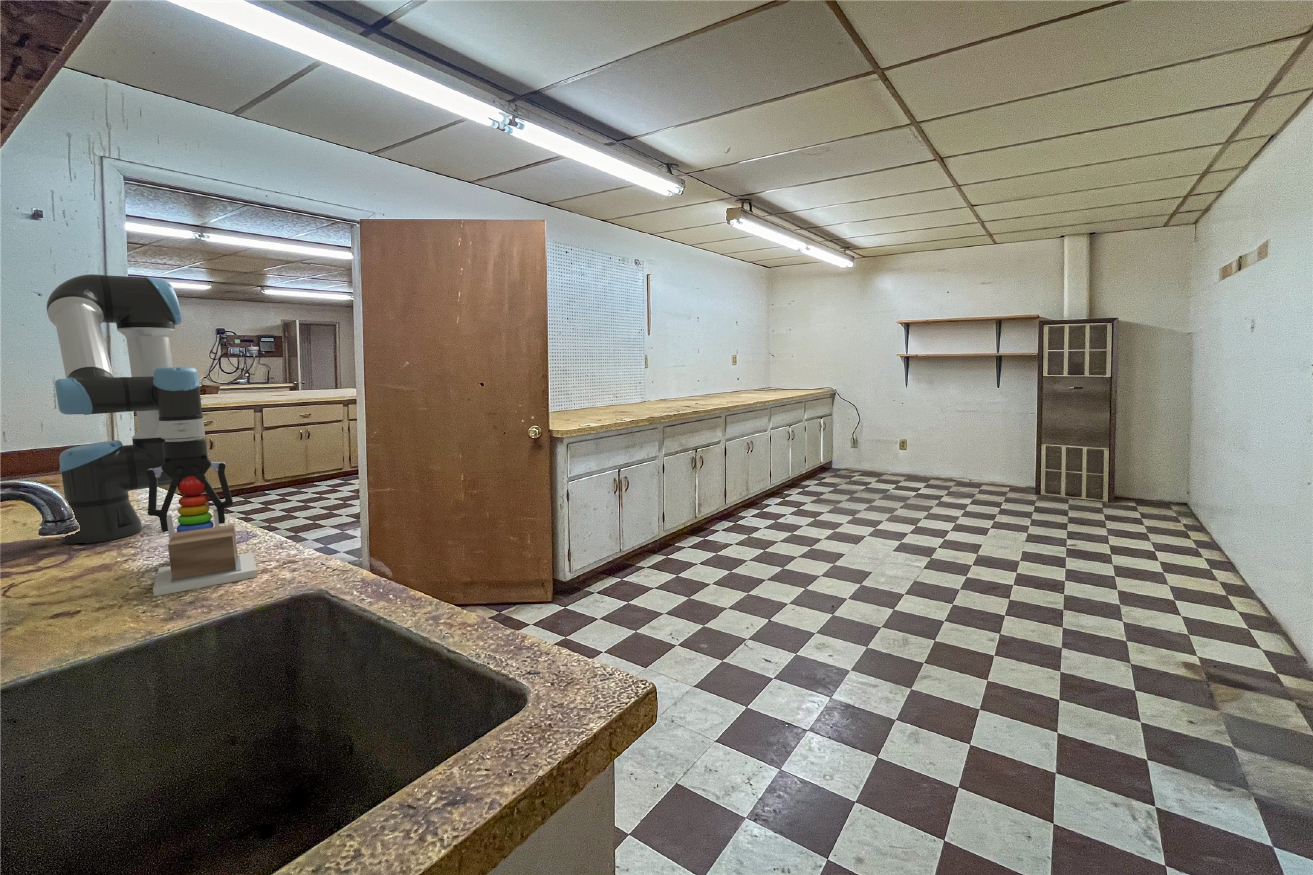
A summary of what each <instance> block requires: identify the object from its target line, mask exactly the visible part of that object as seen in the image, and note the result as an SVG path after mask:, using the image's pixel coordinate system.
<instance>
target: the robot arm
mask: <svg viewBox="0 0 1313 875" xmlns="http://www.w3.org/2000/svg"><path fill="white" fill-rule="evenodd" d="M46 313H47V314H46V315H47V316H48V319H49V321H50V322H51V323H52V325H54V326H55V327H56V328H55V329H56V333H57V337H58V338H57V340H58V344H59V349H60V354H61V359H62V365H63V369H64V376H65V378H59V379H57V380H55V382H54V387H55V394H56V401H57V406H58V411H59V412H60V413H61V414H63V415H84V416H87V415H96V414H98V415H100V414H101V415H102V414H112V413H129V412H136V419H137V426H138V430H137V432H136V433H135V434H133V436H132V437H131V440H132V441H131V442H132V444H128V445H127V444H126V445H123V442H122V441H121V440H118V439H115V440H113V439H111V440H106V441H98V442H94V443H88V444H87V443H86V444H82V445H78V446H73V447H70V448H67V449H65V450H63V451H62V452H61V453H60V455H59V457H58V458H59V459H58V460H59V470H58V471H59V473H60V472H61V479H62V480H61V481H62V488H63V496H64V500H65V499H66V500H67V501H68V503H69V505H70V506H71V508H72V510H73V512H74V515H75V519H76V520H77V522H78V523H79V525H80V531H78V532H76V533H75V534H71V535H67V536H65V537H60V536H59V537H60V542H61V543H62V544H65V545H78V544H77V543H85V544H92V543H94V544H95V543H99V542H107V541H111V540H116V539H122V538H124V537H129V536H132V535H135V534H137V533H140V532H141V531H143V524H142V520H141V519H140V517H139V515H138V514H137V512H136V511H135V509H134V507H133V505H132V504H131V502H130V496H129V491H135V490H136V491H137V490H144V489H148V501H147V502H148V503H147V516H150V517H153V516H154V517H158V518H159V521H160V522H159V523H160V531H161V532H162V533H165V532H167V533H168V534H167V535H168V540H169V542H170V540H171V538H172V536H173V534H174V533H175V531H174V523H173V522H174V521H173V515H172V514H168V512H169V510H170V507H171V503H172V501H173V498H174V495H175V492H176V490H177V489H178V487H177V485H178V483H179V482H180V481H181V480H182V479H184V478H186V477H189V476H195V477H196V478H197V480H199V481H200V482H201V483H202V484H204V490H205V491H204V492H205V493H206V494H207V497H209V499H210V500H211V502H212V504H213V505H214V506H215V508H213V509H212V510H213V513H212V514H213V523H214V527H220V525H222V524H225V522H226V514H225V509H226V508H227V507H232V506H233V504H234V501H233V497H232V494H231V490H230V486H229V484H228V480H227V476H226V473H225V470H226V462H225V461H220V462H219V461H216V462H215V461H212V460H210V458H209V456H208V450H207V441H206V439H205V438H204V436H205V435H206V432H205V430H206V429H205V423H204V416H203V415H204V414H203V409H202V400H201V399H202V398H201V389H200V386H201V382H200V380H199V375H198V374H199V373H198V370H197V369H196V368H195V367H191V366H190V367H189V366H187V367H186V366H183V367H182V366H180V367H178V366H177V367H174V366H173V365H174V364H173V357H172V350H171V340H170V336H172V335H174V333H175V332H176V326H178V325H181V324H182V317H183V316H182V312H181V308H180V302H179V299H178V297H177V293H176V291H175V289H174V288H173V286H172V284H171V283H170V282H168V280H165V279H162V278H153V277H147V276H145V277H142V276H127V275H126V276H125V275H123V276H122V275H121V276H120V275H105V274H94V273H92V274H82V275H78V276H75V277H72V278H70V279H68V280H66V281H64V282H62V283H61V284H59V285H58V286H56V288H55V289H54V290H53V291H52V292H51V293H50V295H49V297H48V299H47V301H46ZM102 323H106V324H107V323H108V324H109V323H110V324H115V325H116V331H117V332H118V333H120V334H121V335H123V336H124V337H125V339H126V347H127V352H128V353H127V354H128V360H129V368H130V374H131V376H118V377H117V376H116V377H114V374H113V373H114V372H113V370H112V366H111V361H110V358H109V353H108V350H107V344H106V341H105V338H104V332H103V329H102V326H101V325H102ZM210 468H212V469H213V471H214V472H215V473H217V476H218V481H219V483H220V484H219V485H220V486H221V487H220V488H221V490H222V493H223V496H224V501H222V500H221V499H220V497H219V496H218V494H217V492H216V491H215V490H214V488H213V486H212V485H211V484H210V482H209V480H208V478H207V476H206V473H207V472H208V470H209V469H210ZM167 486H168V487H169V488H168V490H167V492H166V495H165V498H164V501H163V503H162V506H161V509H158V508H157V500H158V487H167ZM169 542H168V543H169ZM75 543H76V544H75Z"/></svg>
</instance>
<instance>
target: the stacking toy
mask: <svg viewBox="0 0 1313 875" xmlns="http://www.w3.org/2000/svg"><path fill="white" fill-rule="evenodd" d="M177 490H178V492H179V493H180V494H182V497H180V498H179V499H178V504H179V505H180V506H179V507H178V508H177V514H179V516H178V517H177V522H178V523H179V524H178V525H177V526H176V532H183V531H190V530H198V529H205V528H212V527H215V523H214V521H212V518H213V515H212V513H211V512H210V511H209V510H210V506H209V504H207V502H208V499H209V498H208V495H206V494H203V493H204V492H206V491H205V490H204V484H202V483H201V482H200V481H199V480H197V478H196V477H195V476H189V477H186V478H184V479H182V480H181V481H180V482H179V483H178V485H177Z"/></svg>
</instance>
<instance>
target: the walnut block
mask: <svg viewBox="0 0 1313 875" xmlns="http://www.w3.org/2000/svg"><path fill="white" fill-rule="evenodd" d="M219 526H220V525H219ZM235 529H236V527H235V524H229V525H221V526H220V527H215V526H213V527H212V528H205V529H198V530H190V531H183V532H177V531H176V532H175V531H174V534H173V536H172V538H171V540H170V542H168V544H167V549H168V556H169V557H168V558H169V566H171V574H172V581H173V580H179V579H185V578H191V577H197V576H203V575H209V574H215V573H221V572H227V571H233V570H236V567H237V559H238V555H239V553H238V545H237V537H236V536H237V534H236V530H235Z"/></svg>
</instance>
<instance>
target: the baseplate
mask: <svg viewBox="0 0 1313 875" xmlns="http://www.w3.org/2000/svg"><path fill="white" fill-rule="evenodd" d="M254 554H255V553H254V551H253V552H246V553H240V554H239V553H238V559H237V567H236V570H233V571H227V572H221V573H215V574H209V575H203V576H197V577H191V578H185V579H179V580H173V581H172V574H171V566H170V565H169V566H164V567H159V568H158V570H157V574H156V577H155V580H154V584H153V587H152V592H153V597H158V596H163V595H168V594H169V595H170V594H174V593H180V592H184V591H185V592H186V591H190V590H196V589H201V588H207V587H211V586H216V585H217V584H218V585H223V584H229V583H234V582H238V581H244V580H248V578H250V579H254V577H255V578H258V573H257V572H258V571H257V566H256V559H255V555H254ZM233 581H234V582H233ZM218 585H217V586H218Z"/></svg>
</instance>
